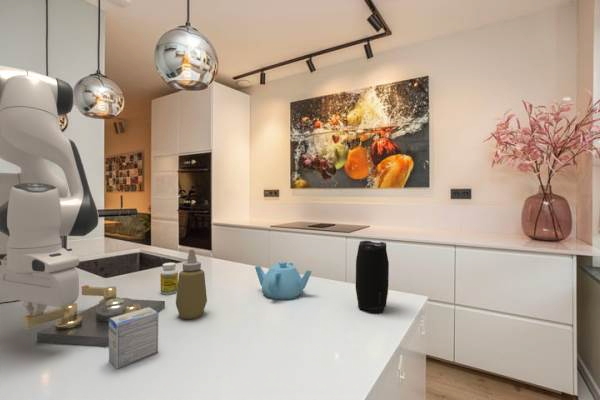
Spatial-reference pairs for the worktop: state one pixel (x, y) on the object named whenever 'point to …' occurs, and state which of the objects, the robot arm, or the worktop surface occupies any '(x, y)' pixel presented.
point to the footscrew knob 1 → (56, 317)
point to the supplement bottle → (169, 279)
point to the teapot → (282, 281)
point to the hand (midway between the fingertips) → (35, 320)
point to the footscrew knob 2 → (100, 292)
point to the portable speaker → (372, 276)
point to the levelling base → (96, 322)
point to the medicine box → (133, 336)
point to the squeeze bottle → (191, 289)
